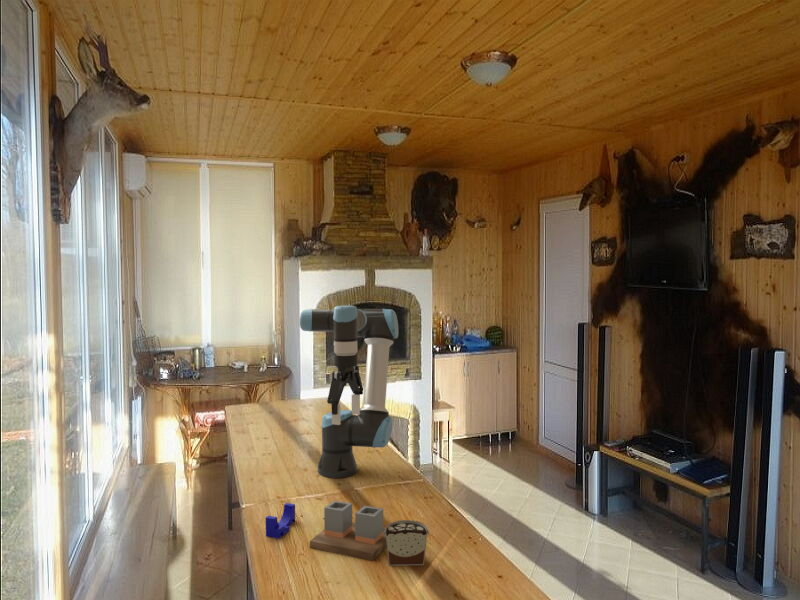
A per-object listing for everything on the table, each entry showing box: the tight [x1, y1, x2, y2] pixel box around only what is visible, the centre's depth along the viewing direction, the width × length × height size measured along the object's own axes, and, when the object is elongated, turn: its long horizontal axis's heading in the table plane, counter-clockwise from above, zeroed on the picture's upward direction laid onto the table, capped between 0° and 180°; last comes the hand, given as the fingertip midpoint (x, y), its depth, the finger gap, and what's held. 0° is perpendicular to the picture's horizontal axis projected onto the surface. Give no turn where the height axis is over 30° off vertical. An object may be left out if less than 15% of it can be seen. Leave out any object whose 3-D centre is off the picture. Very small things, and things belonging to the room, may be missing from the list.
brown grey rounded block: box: [383, 519, 430, 567], centre depth 163 cm, size 12×6×10 cm, turn 92°
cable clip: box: [265, 502, 296, 540], centre depth 182 cm, size 12×4×6 cm, turn 160°
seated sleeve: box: [354, 505, 384, 545], centre depth 171 cm, size 6×6×8 cm
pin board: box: [309, 508, 387, 562], centre depth 173 cm, size 16×20×9 cm
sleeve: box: [323, 500, 353, 538], centre depth 175 cm, size 6×6×8 cm
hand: (346, 419), depth 193 cm, fingers open, 13 cm apart
